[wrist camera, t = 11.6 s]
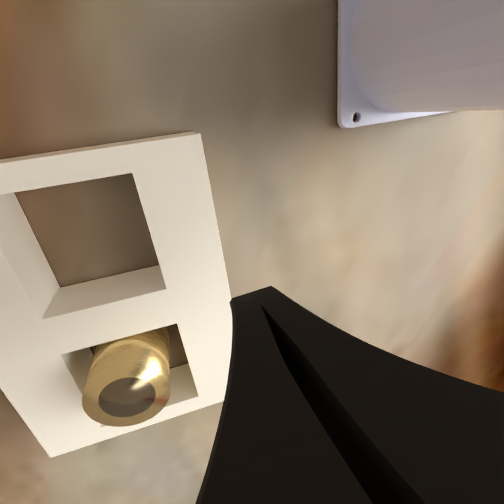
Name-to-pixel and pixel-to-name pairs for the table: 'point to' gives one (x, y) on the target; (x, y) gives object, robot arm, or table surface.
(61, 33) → the table surface
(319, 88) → the table surface
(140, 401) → the brass bushing
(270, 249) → the table surface
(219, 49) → the table surface
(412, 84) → the robot arm
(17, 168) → the jig plate
